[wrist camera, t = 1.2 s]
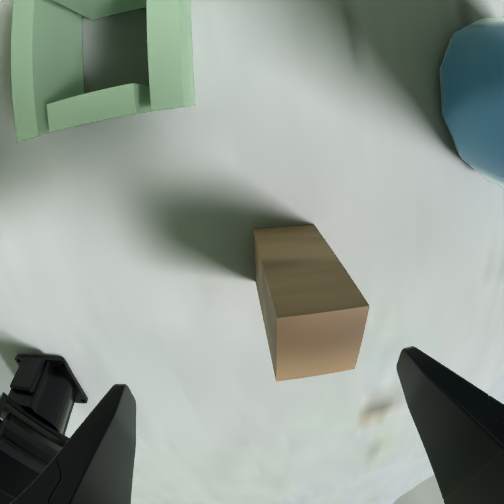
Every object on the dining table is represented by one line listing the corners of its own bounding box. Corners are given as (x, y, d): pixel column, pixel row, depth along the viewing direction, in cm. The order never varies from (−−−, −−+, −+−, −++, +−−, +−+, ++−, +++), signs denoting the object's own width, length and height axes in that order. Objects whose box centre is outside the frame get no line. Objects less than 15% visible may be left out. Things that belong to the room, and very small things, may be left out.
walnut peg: (311, 276, 22) (354, 368, 15) (255, 281, 22) (276, 381, 14) (313, 224, 21) (369, 305, 13) (253, 228, 20) (276, 318, 12)
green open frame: (195, 105, 16) (184, 107, 11) (69, 127, 16) (17, 142, 11) (190, -17, 13) (179, -61, 7) (64, 11, 12) (14, -10, 7)
